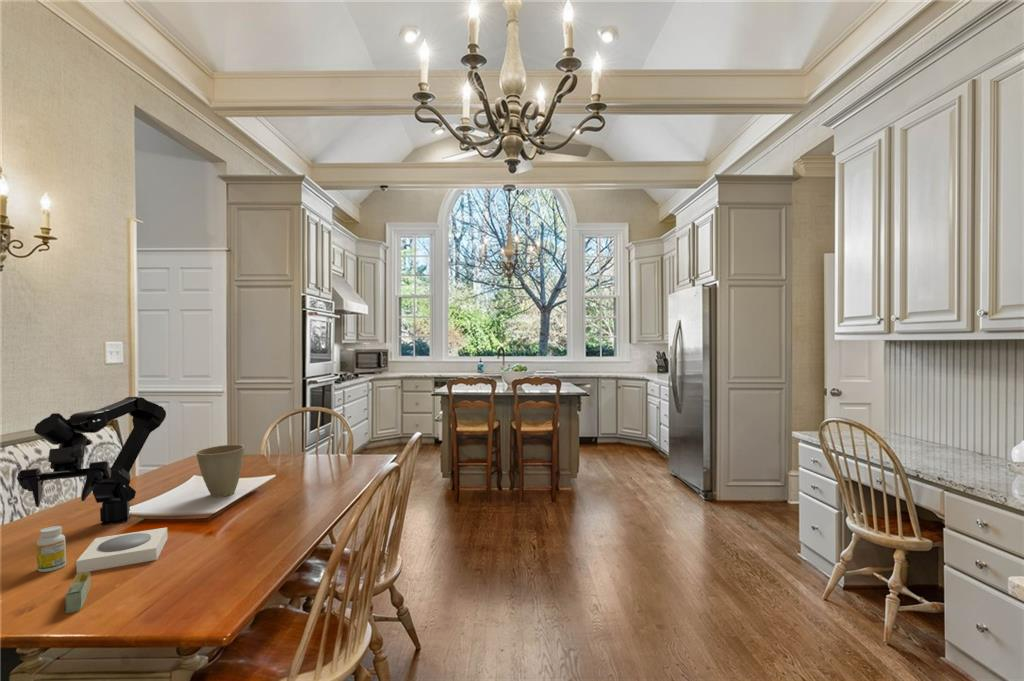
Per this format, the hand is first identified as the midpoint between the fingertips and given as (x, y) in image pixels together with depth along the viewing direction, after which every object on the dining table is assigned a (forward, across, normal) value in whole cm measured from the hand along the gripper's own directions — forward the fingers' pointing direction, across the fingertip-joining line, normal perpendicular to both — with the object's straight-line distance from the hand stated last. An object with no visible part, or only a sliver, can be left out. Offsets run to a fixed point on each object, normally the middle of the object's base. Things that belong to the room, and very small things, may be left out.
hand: (60, 503), depth 137 cm
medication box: (+33, +10, -13) cm, 37 cm away
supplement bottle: (+16, 0, +4) cm, 16 cm away
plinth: (+15, +15, +4) cm, 22 cm away
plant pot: (-18, +35, +37) cm, 55 cm away
